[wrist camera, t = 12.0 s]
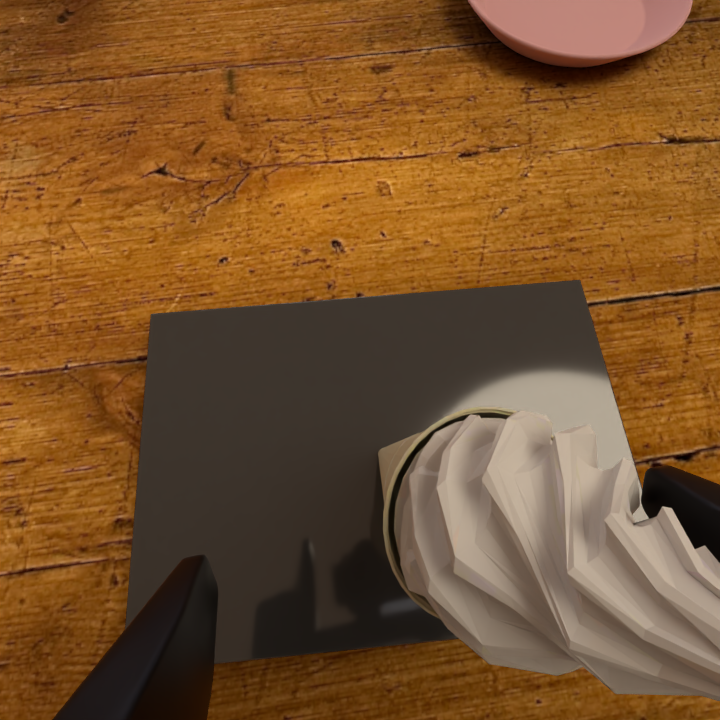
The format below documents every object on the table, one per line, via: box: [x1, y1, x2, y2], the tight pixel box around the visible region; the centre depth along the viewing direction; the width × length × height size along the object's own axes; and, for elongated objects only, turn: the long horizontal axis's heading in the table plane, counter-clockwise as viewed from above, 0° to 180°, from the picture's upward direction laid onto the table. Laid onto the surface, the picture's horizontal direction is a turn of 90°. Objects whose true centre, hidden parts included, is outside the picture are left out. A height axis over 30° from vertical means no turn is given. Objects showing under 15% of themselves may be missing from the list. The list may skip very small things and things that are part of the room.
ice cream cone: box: [378, 407, 720, 701], centre depth 11 cm, size 5×5×15 cm
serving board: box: [125, 280, 649, 664], centre depth 19 cm, size 14×20×2 cm
